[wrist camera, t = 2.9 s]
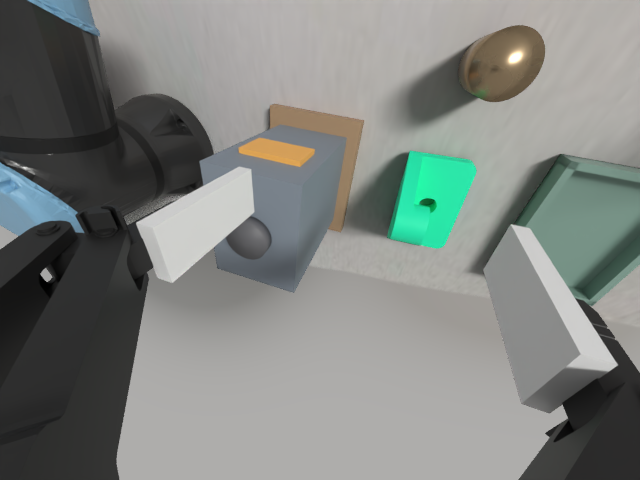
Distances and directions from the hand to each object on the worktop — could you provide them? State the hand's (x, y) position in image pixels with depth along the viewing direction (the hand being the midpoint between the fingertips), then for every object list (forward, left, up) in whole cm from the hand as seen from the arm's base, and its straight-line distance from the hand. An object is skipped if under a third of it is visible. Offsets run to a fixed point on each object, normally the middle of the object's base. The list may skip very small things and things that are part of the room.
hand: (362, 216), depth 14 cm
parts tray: (+24, -8, -23) cm, 34 cm away
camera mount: (+7, -8, -23) cm, 25 cm away
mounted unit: (-10, -8, -23) cm, 26 cm away
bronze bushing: (+7, +7, -23) cm, 25 cm away
